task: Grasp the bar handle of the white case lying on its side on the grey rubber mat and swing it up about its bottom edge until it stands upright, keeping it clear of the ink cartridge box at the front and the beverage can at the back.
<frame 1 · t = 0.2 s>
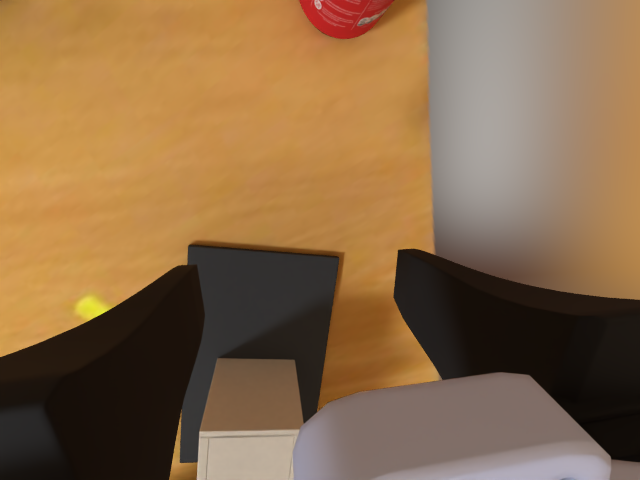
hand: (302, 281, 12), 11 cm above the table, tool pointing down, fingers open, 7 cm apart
mat: (257, 355, 24), on the table
white case: (249, 461, 20), point 5 cm above the table, hinge at 0.0°
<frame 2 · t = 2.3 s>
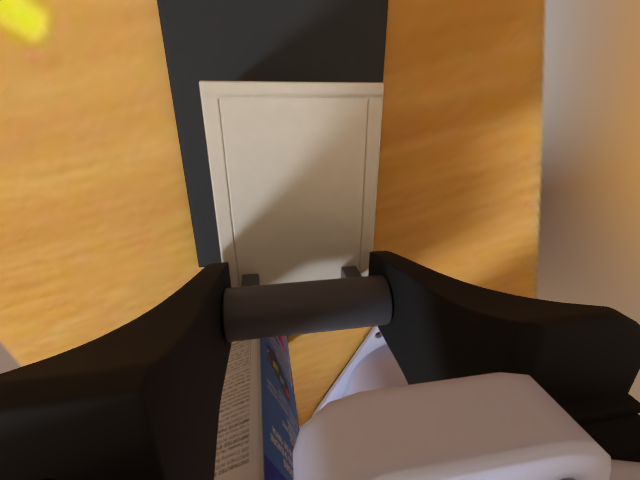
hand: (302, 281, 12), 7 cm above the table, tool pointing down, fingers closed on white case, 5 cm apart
mat: (281, 90, 16), on the table
white case: (293, 197, 13), point 5 cm above the table, hinge at 0.0°, touching gripper, mat
ink cartridge box: (206, 344, 21), on the table
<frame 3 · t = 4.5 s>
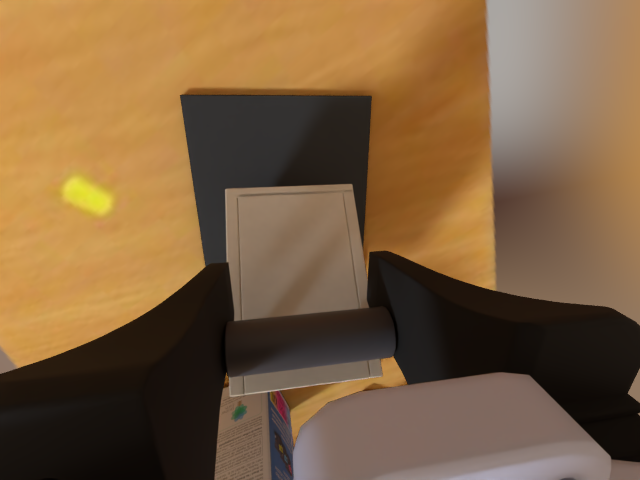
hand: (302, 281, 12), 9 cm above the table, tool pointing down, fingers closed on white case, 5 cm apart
mat: (285, 234, 21), on the table
white case: (296, 285, 15), point 7 cm above the table, hinge at 41.7°, touching gripper, mat
ink cartridge box: (223, 413, 26), on the table
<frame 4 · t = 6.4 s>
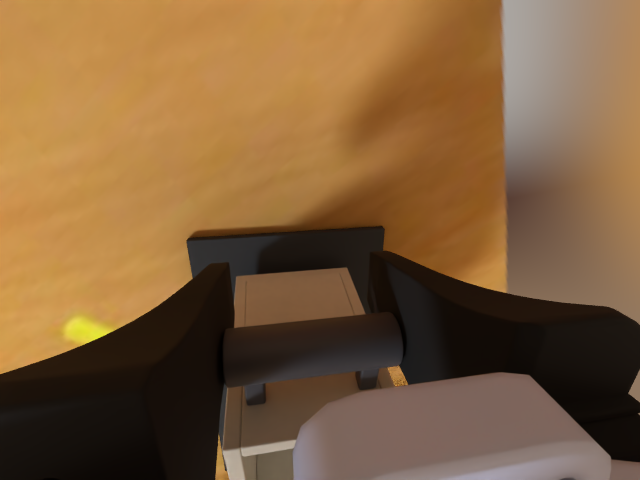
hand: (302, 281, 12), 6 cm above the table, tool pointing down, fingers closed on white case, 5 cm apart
mat: (294, 354, 20), on the table
white case: (302, 363, 14), point 5 cm above the table, hinge at 81.2°, touching gripper, mat
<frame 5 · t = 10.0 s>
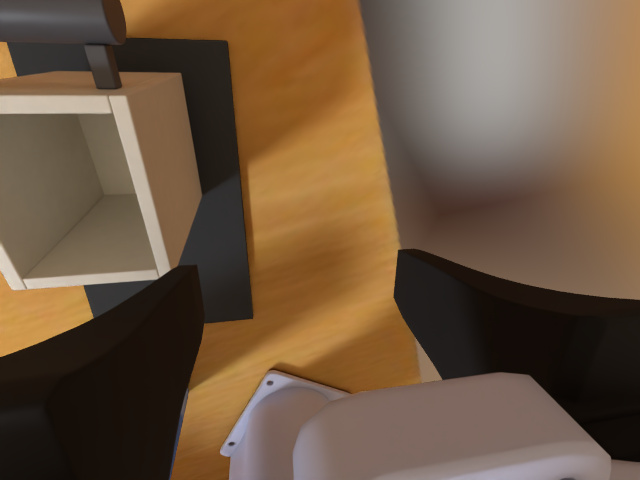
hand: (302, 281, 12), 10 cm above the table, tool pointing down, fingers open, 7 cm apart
mat: (154, 196, 19), on the table
white case: (98, 131, 13), point 5 cm above the table, hinge at 81.4°, touching mat
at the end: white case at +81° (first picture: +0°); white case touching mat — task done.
